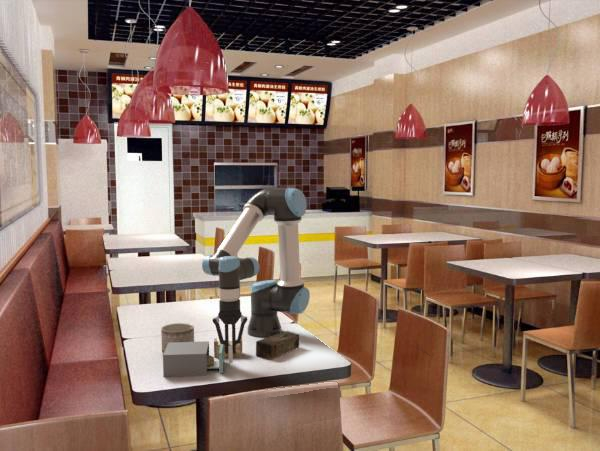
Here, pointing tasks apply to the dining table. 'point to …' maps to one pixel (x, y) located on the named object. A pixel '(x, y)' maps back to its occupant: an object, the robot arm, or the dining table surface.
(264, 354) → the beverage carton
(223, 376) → the dining table surface
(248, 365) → the dining table surface
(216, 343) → the oak block
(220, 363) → the tray
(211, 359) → the walnut disc
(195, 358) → the housing
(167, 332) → the planter
